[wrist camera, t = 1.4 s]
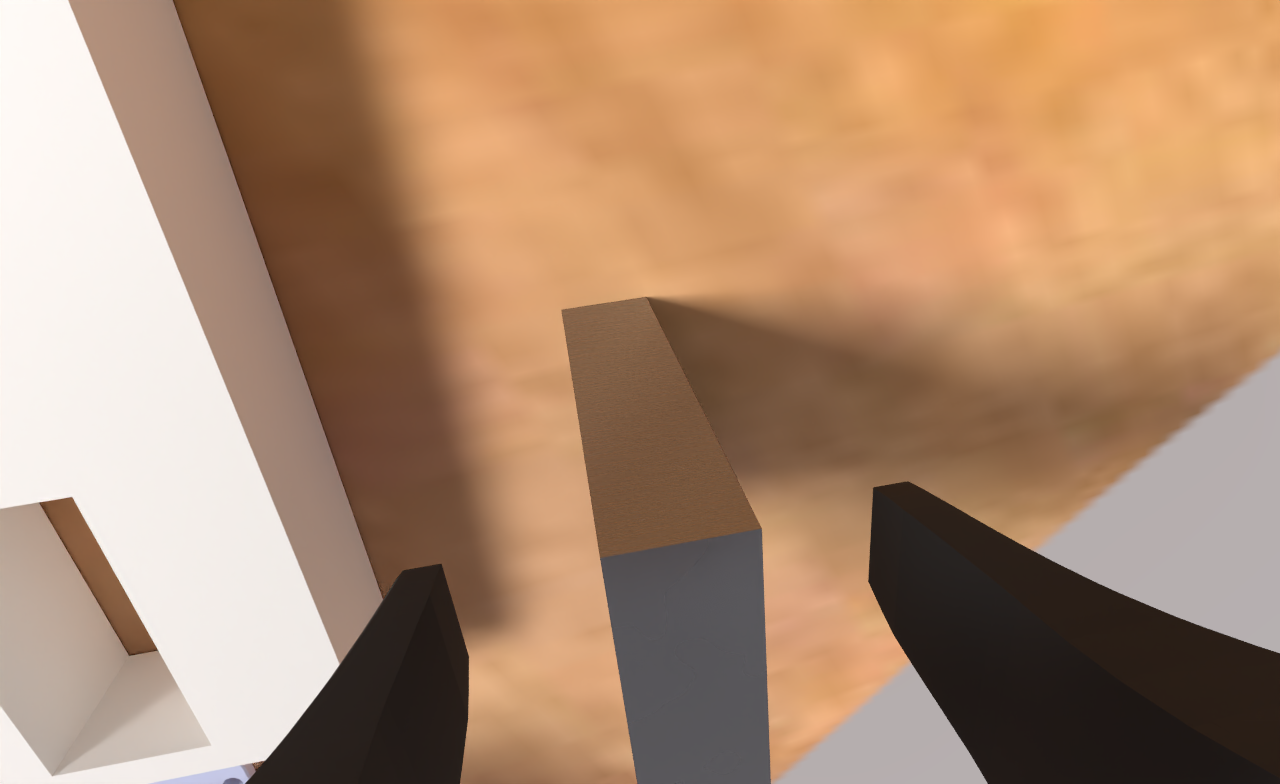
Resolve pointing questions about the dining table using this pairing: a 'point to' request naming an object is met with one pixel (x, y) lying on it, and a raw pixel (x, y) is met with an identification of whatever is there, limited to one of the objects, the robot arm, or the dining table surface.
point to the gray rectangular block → (671, 555)
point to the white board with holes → (150, 422)
